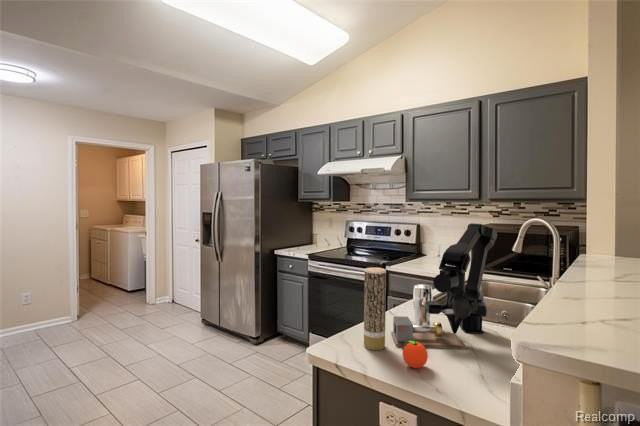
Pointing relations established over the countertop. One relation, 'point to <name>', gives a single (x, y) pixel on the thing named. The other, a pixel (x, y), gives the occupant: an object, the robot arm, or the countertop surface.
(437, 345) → the base board
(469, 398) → the countertop surface
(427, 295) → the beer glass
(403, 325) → the bearing block
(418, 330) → the shaft
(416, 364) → the clementine
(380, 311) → the brown patterned cylinder
